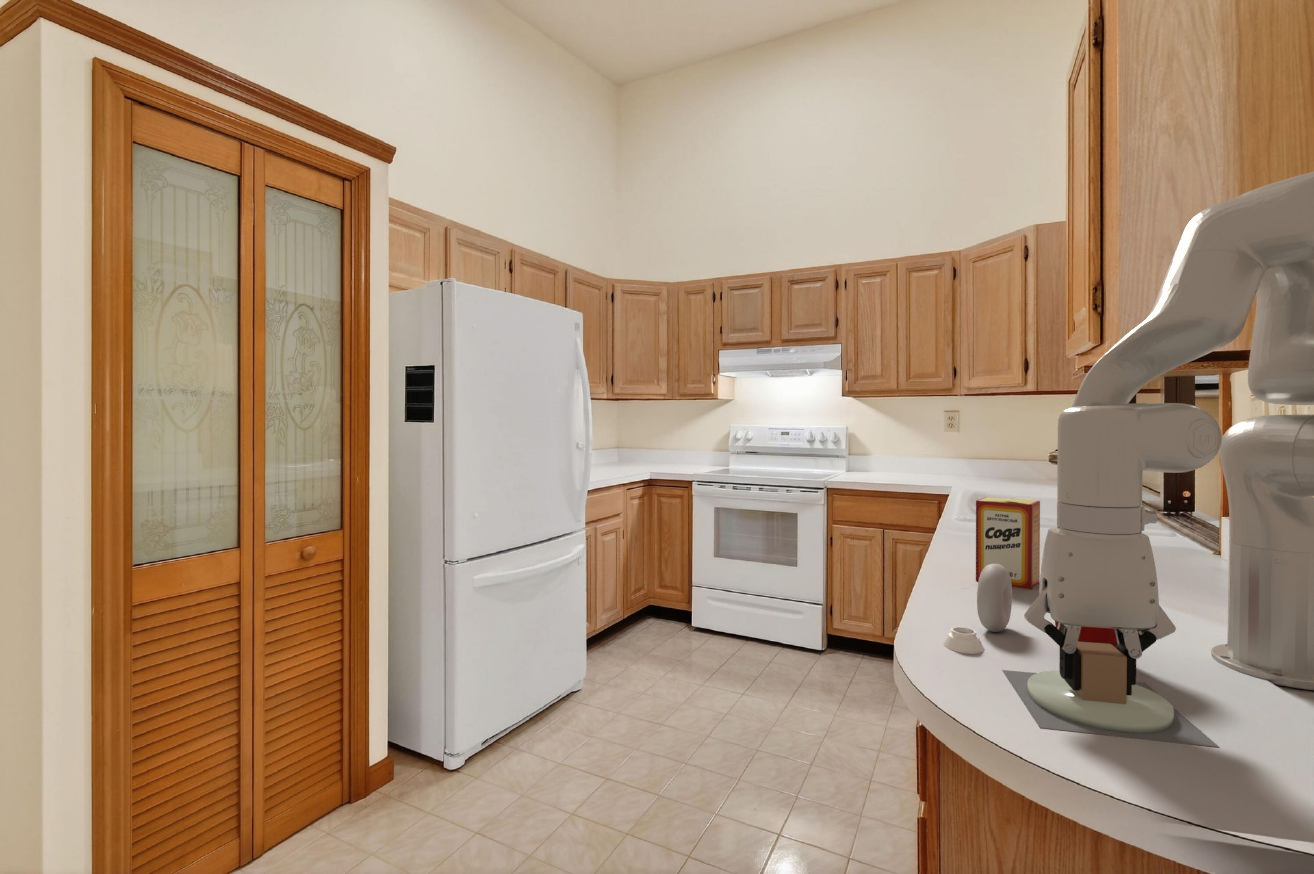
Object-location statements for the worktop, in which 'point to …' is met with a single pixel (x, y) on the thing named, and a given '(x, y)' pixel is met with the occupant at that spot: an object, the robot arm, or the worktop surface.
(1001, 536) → the baking soda box
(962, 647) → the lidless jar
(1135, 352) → the robot arm
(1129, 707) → the lid
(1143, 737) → the mat
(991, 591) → the donut
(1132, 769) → the worktop surface
